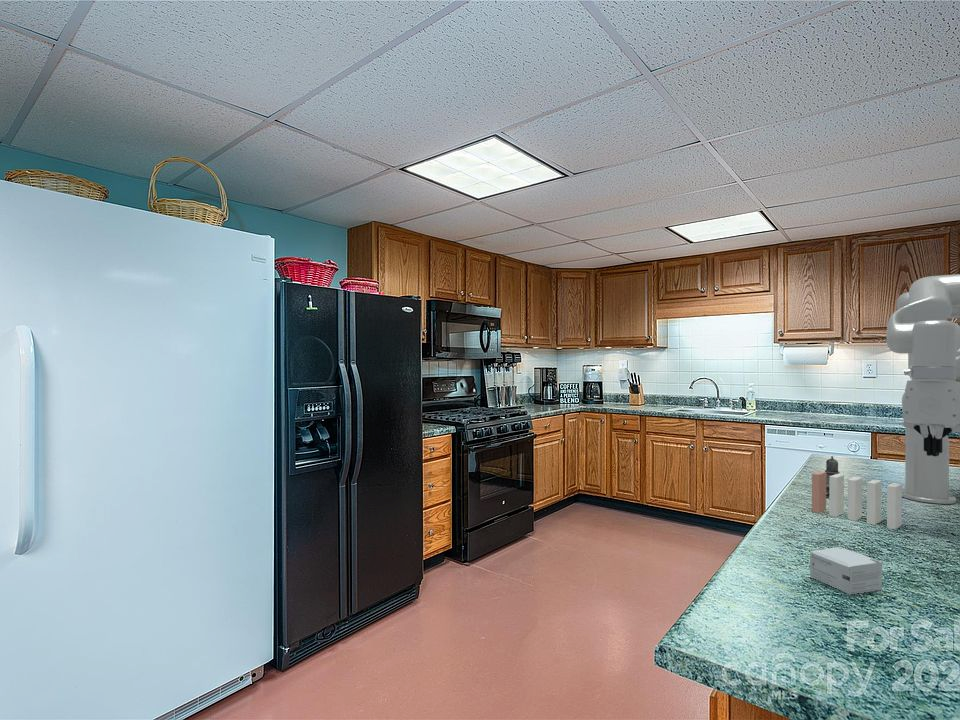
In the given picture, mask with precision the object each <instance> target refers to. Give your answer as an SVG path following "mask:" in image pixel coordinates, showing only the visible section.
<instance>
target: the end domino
mask: <svg viewBox="0 0 960 720" xmlns="http://www.w3.org/2000/svg"><path fill="white" fill-rule="evenodd" d="M826 494H827V493H826V472H825V471H821V470H820V471H816V472H813V473H811V512H812V513H814V514H820V513H823V512H825V511H827V498H826ZM824 510H825V511H824ZM822 511H823V512H822Z"/></svg>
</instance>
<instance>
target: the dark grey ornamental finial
mask: <svg viewBox="0 0 960 720" xmlns="http://www.w3.org/2000/svg"><path fill="white" fill-rule="evenodd" d="M838 461H839V460H837V459H835V458H834V456H833V455H832V456H830V458H828V459H827V460H826V462H825V468H826V469H825V470H824V472H826V499H827V498H829V479H830V476H832V475H835V474H840V473H841V472H840V471H839V462H838Z"/></svg>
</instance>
